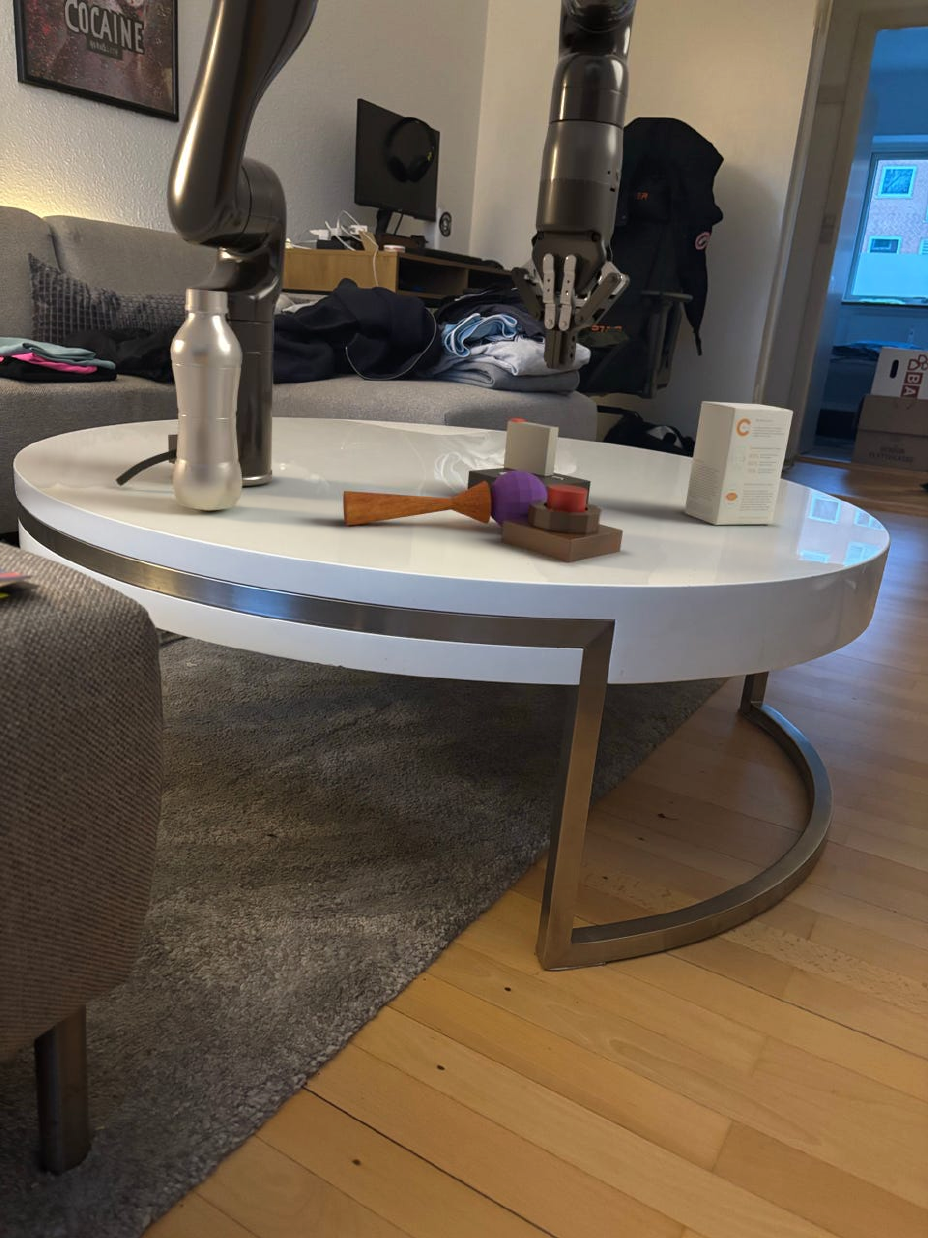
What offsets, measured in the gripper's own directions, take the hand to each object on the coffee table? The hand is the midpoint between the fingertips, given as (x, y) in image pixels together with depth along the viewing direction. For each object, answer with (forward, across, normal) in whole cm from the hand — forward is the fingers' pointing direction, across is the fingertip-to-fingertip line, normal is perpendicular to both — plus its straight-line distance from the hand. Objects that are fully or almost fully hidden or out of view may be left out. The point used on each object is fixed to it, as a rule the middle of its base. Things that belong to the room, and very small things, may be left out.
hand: (558, 369), depth 92 cm
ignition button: (+12, +8, -9) cm, 17 cm away
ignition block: (+16, +8, -9) cm, 20 cm away
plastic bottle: (+16, -20, -27) cm, 38 cm away
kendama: (+16, -3, -12) cm, 20 cm away
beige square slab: (+12, -8, +9) cm, 17 cm away
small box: (+16, +12, +21) cm, 29 cm away
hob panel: (+15, -7, +8) cm, 19 cm away
